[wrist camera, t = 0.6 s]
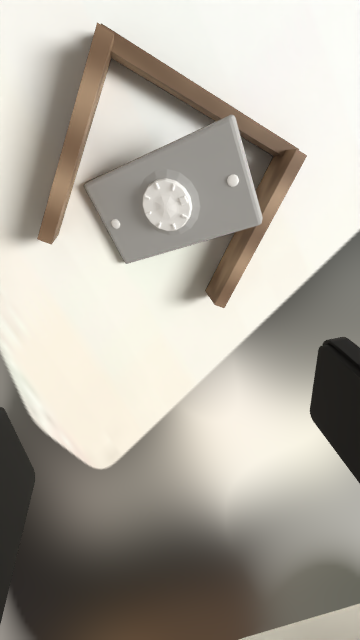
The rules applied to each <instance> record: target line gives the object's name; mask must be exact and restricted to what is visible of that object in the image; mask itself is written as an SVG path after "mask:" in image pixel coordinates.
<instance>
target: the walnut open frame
mask: <svg viewBox="0 0 360 640" xmlns="http://www.w3.org/2000/svg"><path fill="white" fill-rule="evenodd" d="M111 58H112V59H113V60H115V61H117V62H118V63H120V64H122V65H123V66H125V67H127V68H128V69H130V70H132V71H133V72H135V73H137V74H138V75H140V76H141V77H143V78H145V79H146V80H148V81H150V82H151V83H153V84H155V85H156V86H158V87H160V88H161V89H163V90H165V91H166V92H168V93H170V94H171V95H173V96H175V97H176V98H178V99H180V100H181V101H183V102H185V103H186V104H188V105H189V106H191V107H193V108H194V109H196V110H198V111H199V112H201V113H203V114H204V115H206V116H208V117H209V118H211V119H213V120H214V121H219V120H221V119H223V118H225V117H227V116H229V115H234V116H235V118H236V121H237V125H238V129H239V132H240V136H241V137H242V138H244V139H246V140H247V141H249V142H251V143H252V144H254V145H256V146H257V147H259V148H261V149H262V150H264V151H266V152H267V153H269V154H271V155H272V156H273V158H272V160H271V162H270V164H269V166H268V168H267V170H266V172H265V174H264V176H263V178H262V180H261V182H260V184H259V186H258V188H257V190H256V195H257V199H258V202H259V206H260V210H261V213H262V217H263V218H262V223H261V224H260V225H258V226H254V227H251V228H247V229H244V230H241V231H237V232H235V233H234V235H233V237H232V239H231V241H230V243H229V245H228V247H227V249H226V251H225V253H224V255H223V257H222V259H221V261H220V263H219V265H218V267H217V269H216V271H215V273H214V275H213V277H212V279H211V281H210V283H209V285H208V286H207V288H206V290H205V291H206V293H207V294H208V296H209V297H210V299H211V300H212V301H213V303H214V304H215V305H217V306H220V307H222V308H225V306H226V304H227V302H228V300H229V298H230V297H231V295H232V293H233V291H234V289H235V287H236V286H237V284H238V282H239V280H240V278H241V276H242V274H243V273H244V271H245V269H246V267H247V265H248V263H249V262H250V260H251V258H252V256H253V254H254V252H255V251H256V249H257V247H258V245H259V243H260V241H261V240H262V238H263V236H264V234H265V232H266V230H267V228H268V227H269V225H270V223H271V221H272V219H273V217H274V216H275V214H276V212H277V210H278V208H279V206H280V205H281V203H282V201H283V199H284V197H285V195H286V193H287V192H288V190H289V188H290V186H291V184H292V182H293V181H294V179H295V177H296V175H297V173H298V171H299V170H300V168H301V166H302V164H303V162H304V160H305V158H306V157H307V155H305V154H304V153H302V152H300V151H299V149H298V148H296V147H295V146H293V145H292V144H290V143H288V142H287V141H285V140H284V139H282V138H281V137H279V136H277V135H276V134H274V133H273V132H271V131H270V130H268V129H266V128H265V127H263V126H262V125H260V124H259V123H257V122H255V121H254V120H252V119H251V118H249V117H248V116H246V115H244V114H243V113H241V112H240V111H238V110H237V109H235V108H233V107H232V106H230V105H229V104H227V103H226V102H224V101H222V100H221V99H219V98H218V97H216V96H215V95H213V94H211V93H210V92H208V91H207V90H205V89H204V88H202V87H200V86H199V85H197V84H196V83H194V82H193V81H191V80H189V79H188V78H186V77H185V76H183V75H182V74H180V73H178V72H177V71H175V70H174V69H172V68H171V67H169V66H167V65H166V64H164V63H163V62H161V61H160V60H158V59H156V58H155V57H153V56H152V55H150V54H149V53H147V52H145V51H144V50H142V49H141V48H139V47H138V46H136V45H134V44H133V43H131V42H130V41H128V40H127V39H125V38H123V37H122V36H120V35H119V34H117V33H116V32H114V31H112V30H111V29H109V28H108V27H106V26H105V25H103V24H101V25H100V24H99V23H97V25H96V29H95V33H94V36H93V40H92V43H91V47H90V51H89V54H88V58H87V62H86V65H85V69H84V72H83V76H82V80H81V83H80V87H79V90H78V94H77V98H76V101H75V105H74V108H73V112H72V116H71V119H70V123H69V126H68V130H67V134H66V137H65V141H64V145H63V148H62V152H61V155H60V159H59V163H58V166H57V170H56V173H55V177H54V181H53V184H52V188H51V191H50V195H49V199H48V202H47V206H46V209H45V213H44V217H43V220H42V224H41V228H40V231H39V235H38V238H37V239H38V240H41V241H43V242H46V243H49V244H52V243H53V241H54V240H55V239H56V237H57V236H58V234H59V231H60V227H61V224H62V221H63V217H64V214H65V211H66V207H67V204H68V201H69V197H70V194H71V191H72V187H73V184H74V181H75V177H76V174H77V171H78V167H79V164H80V161H81V157H82V154H83V151H84V147H85V144H86V141H87V138H88V134H89V131H90V128H91V124H92V121H93V118H94V114H95V111H96V108H97V104H98V101H99V98H100V94H101V91H102V88H103V84H104V81H105V78H106V74H107V71H108V68H109V64H110V61H111Z"/></svg>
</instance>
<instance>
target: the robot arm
mask: <svg viewBox="0 0 360 640" xmlns="http://www.w3.org/2000/svg"><path fill="white" fill-rule="evenodd" d="M310 414H311V417H312V420H313V421H314V423H315V424H316V425H317V427H318V428H319V429H320V431H321V432H322V433H323V435H324V436H325V437H326V439H327V440H328V441H329V442H330V444H331V446H332V447H333V448H334V449H335V451H336V452H337V454H338V455H339V456H340V458H341V459H342V460H343V462H344V463H345V464H346V466H347V467H348V468H349V470H350V471H351V472H352V474H353V475H354V476H355V478H356V479H357V480H358V482H359V483H360V348H359V347H358V346H357V345H355V344H354V343H353V342H352V341H350V340H349V339H348V338H346V337H340V338H335V339H330V340H326V341H324V343H323V346H320V348H319V350H318V357H317V364H316V371H315V378H314V384H313V392H312V399H311V406H310ZM34 482H35V472H34V469H33V467H32V465H31V463H30V461H29V458H28V456H27V454H26V452H25V451H24V448H23V446H22V444H21V442H20V440H19V438H18V436H17V434H16V432H15V430H14V428H13V426H12V424H11V422H10V420H9V418H8V416H7V413H6V411H5V410H4V408H2V407H0V623H1V619H2V615H3V611H4V607H5V603H6V598H7V594H8V590H9V586H10V582H11V577H12V574H13V569H14V565H15V561H16V557H17V553H18V549H19V545H20V540H21V537H22V532H23V528H24V524H25V520H26V516H27V511H28V507H29V504H30V499H31V495H32V491H33V487H34ZM239 640H360V604H357V605H354V606H351V607H347V608H344V609H340V610H337V611H334V612H330V613H327V614H323V615H320V616H316V617H313V618H310V619H306V620H303V621H300V622H296V623H293V624H290V625H286V626H283V627H279V628H276V629H273V630H269V631H266V632H263V633H260V634H256V635H253V636H249V637H246V638H243V639H239Z"/></svg>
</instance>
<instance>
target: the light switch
mask: <svg viewBox="0 0 360 640" xmlns="http://www.w3.org/2000/svg"><path fill="white" fill-rule="evenodd" d="M154 181H155V182H154ZM150 184H151V185H150ZM84 187H85V189H86V191H87V193H88V195H89V197H90V199H91V201H92V202H93V204H94V206H95V208H96V210H97V212H98V214H99V215H100V217H101V219H102V221H103V223H104V225H105V227H106V228H107V230H108V232H109V234H110V236H111V238H112V240H113V241H114V243H115V245H116V247H117V249H118V251H119V253H120V254H121V256H122V258H123V260H124V262H125V263H126V264H128V263H131V262H135V261H138V260H142V259H145V258H148V257H152V256H155V255H159V254H162V253H165V252H169V251H172V250H176V249H179V248H183V247H186V246H189V245H193V244H196V243H200V242H203V241H206V240H210V239H213V238H217V237H220V236H223V235H227V234H230V233H234V232H237V231H241V230H244V229H247V228H251V227H254V226H258V225H260V224H261V223H262V218H263V217H262V213H261V210H260V206H259V202H258V199H257V195H256V191H255V188H254V184H253V180H252V176H251V173H250V169H249V165H248V162H247V158H246V154H245V151H244V147H243V143H242V140H241V136H240V132H239V129H238V125H237V121H236V118H235V116H234V115H229V116H227V117H225V118H223V119H221V120H219V121H216V122H214V123H212V124H210V125H208V126H206V127H204V128H201V129H199V130H197V131H195V132H193V133H191V134H189V135H187V136H184V137H182V138H180V139H178V140H176V141H174V142H172V143H169V144H167V145H165V146H163V147H161V148H159V149H157V150H154V151H152V152H150V153H148V154H146V155H144V156H142V157H140V158H137V159H135V160H133V161H131V162H129V163H127V164H125V165H122V166H120V167H118V168H116V169H114V170H112V171H110V172H107V173H105V174H103V175H101V176H99V177H97V178H95V179H93V180H90V181H88V182H87V183H85V185H84ZM185 223H186V224H185Z"/></svg>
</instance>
